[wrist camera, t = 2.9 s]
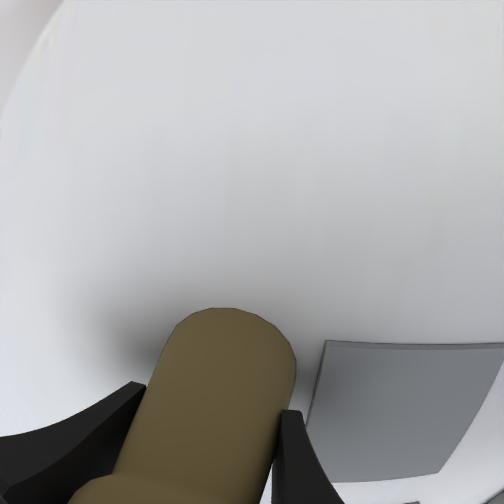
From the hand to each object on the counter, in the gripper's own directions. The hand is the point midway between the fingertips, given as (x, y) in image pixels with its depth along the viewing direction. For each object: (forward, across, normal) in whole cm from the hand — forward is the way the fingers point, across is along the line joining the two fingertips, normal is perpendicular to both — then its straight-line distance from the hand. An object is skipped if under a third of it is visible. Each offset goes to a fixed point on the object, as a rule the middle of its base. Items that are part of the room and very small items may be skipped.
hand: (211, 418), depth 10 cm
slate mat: (+3, -9, +3) cm, 10 cm away
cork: (+4, 0, 0) cm, 4 cm away
